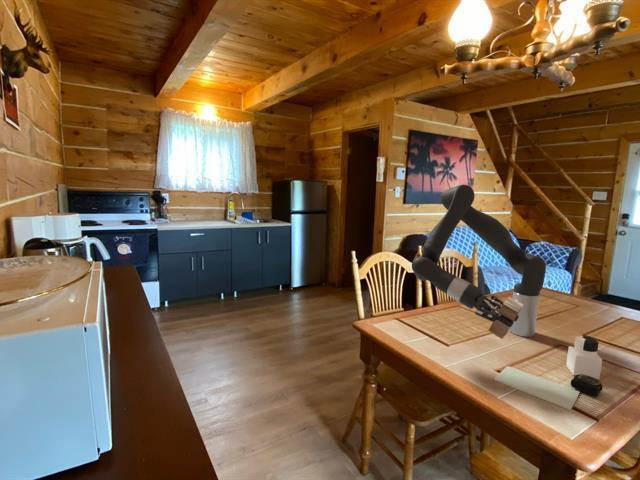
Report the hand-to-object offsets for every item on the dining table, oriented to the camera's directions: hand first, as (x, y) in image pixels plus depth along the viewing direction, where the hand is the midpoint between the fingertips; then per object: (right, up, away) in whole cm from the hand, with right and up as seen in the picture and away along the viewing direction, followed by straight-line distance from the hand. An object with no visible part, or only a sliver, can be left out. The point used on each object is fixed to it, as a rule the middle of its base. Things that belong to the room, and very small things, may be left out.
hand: (514, 321), depth 108 cm
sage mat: (+5, -19, -3) cm, 20 cm away
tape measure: (+19, -20, -5) cm, 28 cm away
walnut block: (-3, -4, +4) cm, 7 cm away
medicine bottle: (+26, -18, +6) cm, 32 cm away
